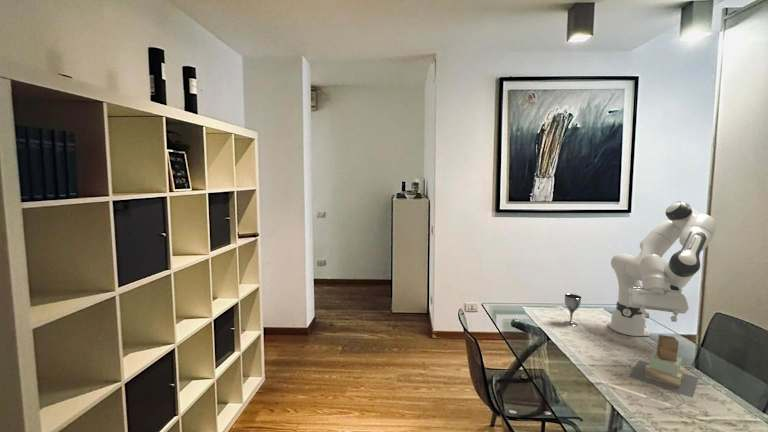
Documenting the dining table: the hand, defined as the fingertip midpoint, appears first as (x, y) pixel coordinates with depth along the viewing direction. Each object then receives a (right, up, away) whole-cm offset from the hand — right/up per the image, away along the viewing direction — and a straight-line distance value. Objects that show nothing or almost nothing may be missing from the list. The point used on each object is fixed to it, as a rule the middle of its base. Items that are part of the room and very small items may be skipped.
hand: (660, 319), depth 159 cm
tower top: (-1, -18, -5) cm, 18 cm away
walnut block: (-1, -14, -5) cm, 15 cm away
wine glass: (-12, -16, +52) cm, 56 cm away
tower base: (-2, -22, -4) cm, 22 cm away
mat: (-2, -22, -4) cm, 23 cm away
